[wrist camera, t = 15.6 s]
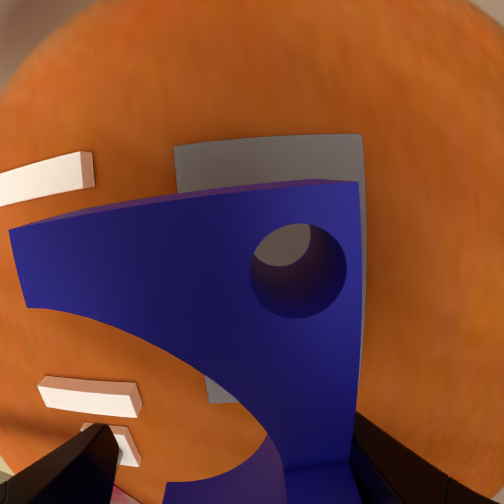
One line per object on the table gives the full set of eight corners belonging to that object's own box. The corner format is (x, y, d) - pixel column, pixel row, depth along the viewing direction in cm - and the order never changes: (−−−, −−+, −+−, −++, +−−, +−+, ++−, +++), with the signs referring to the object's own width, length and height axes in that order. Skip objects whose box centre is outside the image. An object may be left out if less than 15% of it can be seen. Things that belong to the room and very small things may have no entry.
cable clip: (337, 579, 6) (162, 584, 6) (319, 492, 10) (176, 500, 10) (404, 186, 3) (-48, 248, 3) (316, 178, 7) (80, 209, 7)
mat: (359, 134, 16) (361, 134, 16) (357, 385, 20) (358, 388, 20) (175, 146, 16) (173, 146, 16) (210, 399, 20) (209, 403, 20)
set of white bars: (92, 152, 16) (79, 151, 15) (163, 460, 22) (160, 473, 20) (-2, 177, 16) (-15, 179, 15) (82, 450, 22) (76, 461, 20)
